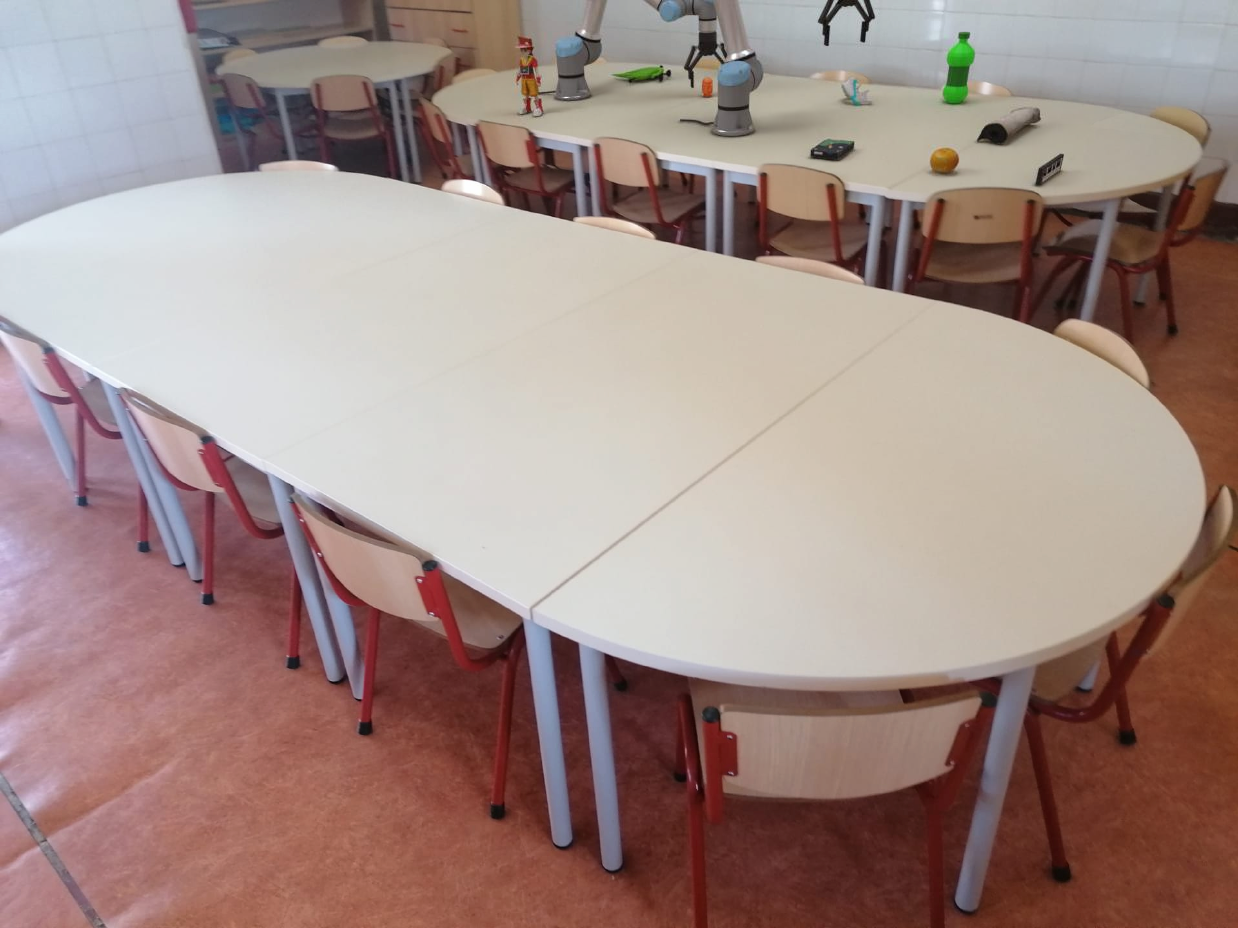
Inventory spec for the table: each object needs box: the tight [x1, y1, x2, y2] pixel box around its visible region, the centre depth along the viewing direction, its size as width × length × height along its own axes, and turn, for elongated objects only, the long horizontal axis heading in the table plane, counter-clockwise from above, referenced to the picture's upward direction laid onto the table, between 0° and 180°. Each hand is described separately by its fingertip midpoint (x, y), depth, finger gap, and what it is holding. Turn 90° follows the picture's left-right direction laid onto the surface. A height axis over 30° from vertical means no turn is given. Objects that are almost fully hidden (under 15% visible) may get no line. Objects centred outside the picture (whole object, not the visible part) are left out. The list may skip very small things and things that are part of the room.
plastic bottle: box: [942, 31, 976, 104], centre depth 348 cm, size 10×10×25 cm
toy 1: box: [514, 35, 544, 117], centre depth 366 cm, size 12×9×30 cm
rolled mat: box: [976, 106, 1042, 145], centre depth 314 cm, size 30×9×10 cm
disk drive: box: [809, 138, 855, 161], centre depth 306 cm, size 10×3×15 cm
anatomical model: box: [841, 76, 874, 106], centre depth 361 cm, size 15×10×10 cm
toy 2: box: [611, 65, 672, 84], centre depth 420 cm, size 28×5×30 cm
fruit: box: [929, 147, 960, 174], centre depth 283 cm, size 8×8×8 cm
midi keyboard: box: [1035, 153, 1065, 186], centre depth 273 cm, size 18×1×5 cm, turn 138°
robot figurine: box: [701, 76, 714, 98], centre depth 382 cm, size 7×5×8 cm
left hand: (707, 86), depth 382 cm, fingers open, 13 cm apart
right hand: (844, 44), depth 317 cm, fingers open, 13 cm apart
